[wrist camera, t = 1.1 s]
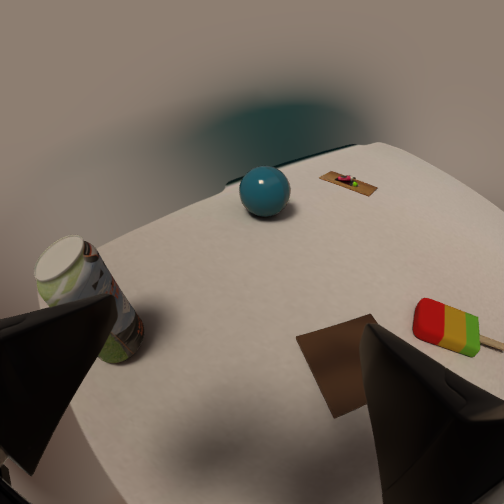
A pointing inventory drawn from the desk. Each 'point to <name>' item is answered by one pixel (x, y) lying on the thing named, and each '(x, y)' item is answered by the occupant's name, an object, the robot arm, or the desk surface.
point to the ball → (264, 191)
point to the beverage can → (88, 291)
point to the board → (349, 183)
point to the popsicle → (449, 328)
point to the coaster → (337, 363)
